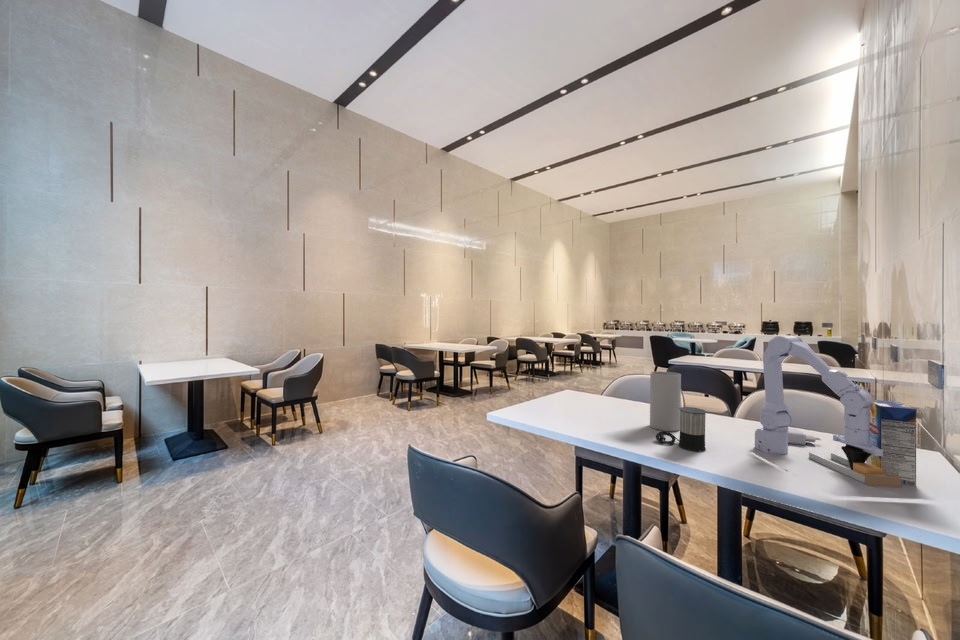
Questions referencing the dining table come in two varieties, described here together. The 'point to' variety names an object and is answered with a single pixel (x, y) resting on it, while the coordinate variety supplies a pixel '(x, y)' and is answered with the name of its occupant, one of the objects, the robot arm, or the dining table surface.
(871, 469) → the orange cube
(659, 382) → the cylinder vase
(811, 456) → the track
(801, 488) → the dining table surface
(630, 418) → the dining table surface
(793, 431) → the charger
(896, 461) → the blue food box
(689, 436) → the milk frother
